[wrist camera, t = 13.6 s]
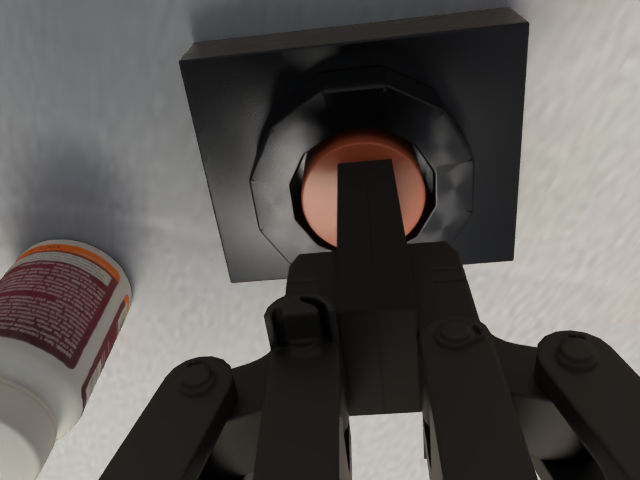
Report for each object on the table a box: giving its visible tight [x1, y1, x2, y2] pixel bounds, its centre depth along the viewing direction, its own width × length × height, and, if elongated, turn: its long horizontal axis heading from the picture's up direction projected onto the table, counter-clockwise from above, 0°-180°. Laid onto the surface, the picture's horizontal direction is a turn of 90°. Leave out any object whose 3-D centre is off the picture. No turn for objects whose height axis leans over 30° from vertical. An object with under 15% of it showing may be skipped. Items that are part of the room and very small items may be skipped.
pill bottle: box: [0, 239, 132, 480], centre depth 21 cm, size 5×5×8 cm
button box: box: [179, 7, 529, 283], centre depth 19 cm, size 10×8×4 cm
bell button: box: [301, 127, 426, 247], centre depth 18 cm, size 4×4×2 cm
